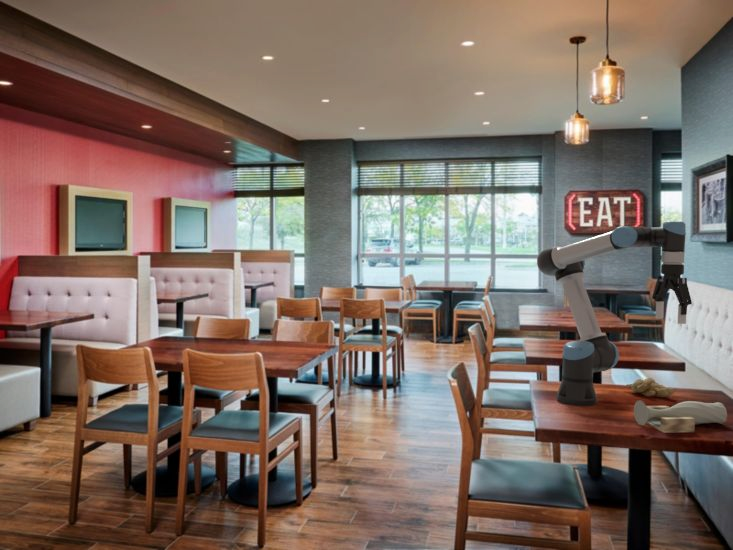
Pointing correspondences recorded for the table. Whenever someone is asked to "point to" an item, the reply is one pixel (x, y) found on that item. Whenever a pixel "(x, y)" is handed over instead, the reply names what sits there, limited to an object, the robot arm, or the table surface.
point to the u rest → (671, 422)
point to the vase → (683, 412)
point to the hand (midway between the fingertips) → (670, 321)
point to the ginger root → (650, 388)
